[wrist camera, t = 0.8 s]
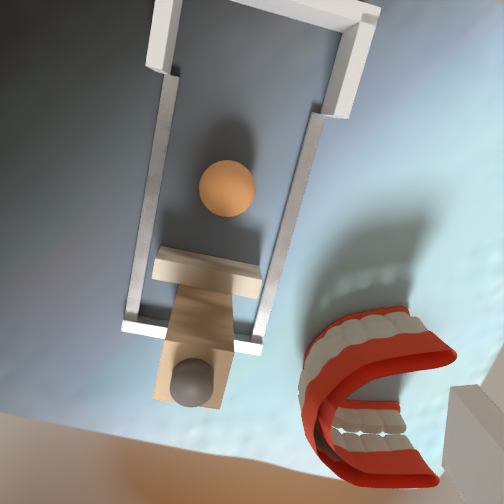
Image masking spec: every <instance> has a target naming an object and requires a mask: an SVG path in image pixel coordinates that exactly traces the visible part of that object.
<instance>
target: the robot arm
mask: <svg viewBox="0 0 504 504" xmlns="http://www.w3.org/2000/svg"><path fill="white" fill-rule="evenodd" d="M442 467H443V468H444V470H445V472H446V473H447V475H448V477H449V478H450V480H451V481H452V483H453V485H454V486H455V488H456V490H457V491H458V493H459V494H460V496H461V497H462V499H463V501H464V503H465V504H504V413H503V412H502V411H501V409H500V408H499V407H498V406H497V405H496V404H495V403H494V402H493V401H492V400H491V399H490V398H489V397H488V395H487V394H486V393H485V392H484V391H483V390H482V389H481V388H480V387H479V386H478V385H477V384H476V385H465V386H454V387H450V393H449V402H448V412H447V421H446V430H445V439H444V448H443V457H442Z"/></svg>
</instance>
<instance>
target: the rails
mask: <svg viewBox="0 0 504 504" xmlns="http://www.w3.org/2000/svg"><path fill="white" fill-rule="evenodd" d="M179 81H180V78H179V77H176V76H172V75H169V74H164V80H163V86H162V92H161V98H160V104H159V110H158V116H157V122H156V129H155V135H154V141H153V147H152V153H151V159H150V165H149V171H148V177H147V183H146V189H145V195H144V201H143V208H142V214H141V220H140V226H139V232H138V238H137V244H136V250H135V256H134V262H133V268H132V274H131V280H130V287H129V293H128V299H127V305H126V311H125V317H124V319H123V322H122V329H121V331H124V332H129V333H135V334H141V335H146V336H152V337H158V338H163V339H165V336H166V332H167V328H168V324H169V321H166V320H160V319H155V318H149V317H144V316H138V315H139V309H140V303H141V297H142V292H143V286H144V280H145V275H146V269H147V263H148V258H149V252H150V246H151V240H152V235H153V229H154V223H155V218H156V212H157V206H158V201H159V195H160V189H161V184H162V178H163V172H164V166H165V161H166V155H167V149H168V144H169V138H170V132H171V127H172V121H173V115H174V109H175V104H176V98H177V92H178V87H179ZM325 117H326V115H322V114H318V113H314V112H311V114H310V117H309V121H308V125H307V129H306V132H305V136H304V140H303V143H302V147H301V151H300V155H299V158H298V162H297V166H296V169H295V173H294V177H293V180H292V184H291V188H290V192H289V195H288V199H287V203H286V206H285V210H284V214H283V218H282V221H281V225H280V229H279V232H278V236H277V240H276V244H275V247H274V251H273V255H272V258H271V262H270V266H269V269H268V273H267V277H266V281H265V284H264V288H263V292H262V295H261V299H260V303H259V307H258V310H257V314H256V318H255V321H254V325H253V329H252V332H251V336H249V335H243V334H238V333H234V351H238V352H243V353H249V354H255V355H260V354H261V351H262V347H263V342H262V341H263V338H264V334H265V331H266V327H267V323H268V320H269V316H270V313H271V309H272V306H273V302H274V299H275V295H276V291H277V288H278V284H279V281H280V277H281V274H282V270H283V266H284V263H285V259H286V256H287V252H288V249H289V245H290V242H291V238H292V234H293V231H294V227H295V224H296V220H297V217H298V213H299V209H300V206H301V202H302V199H303V195H304V192H305V188H306V185H307V181H308V177H309V174H310V170H311V167H312V163H313V160H314V156H315V152H316V149H317V145H318V142H319V138H320V135H321V131H322V128H323V124H324V120H325Z"/></svg>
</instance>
